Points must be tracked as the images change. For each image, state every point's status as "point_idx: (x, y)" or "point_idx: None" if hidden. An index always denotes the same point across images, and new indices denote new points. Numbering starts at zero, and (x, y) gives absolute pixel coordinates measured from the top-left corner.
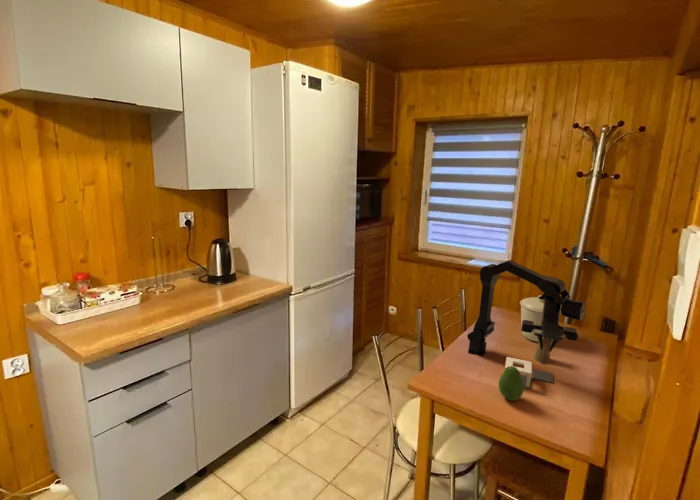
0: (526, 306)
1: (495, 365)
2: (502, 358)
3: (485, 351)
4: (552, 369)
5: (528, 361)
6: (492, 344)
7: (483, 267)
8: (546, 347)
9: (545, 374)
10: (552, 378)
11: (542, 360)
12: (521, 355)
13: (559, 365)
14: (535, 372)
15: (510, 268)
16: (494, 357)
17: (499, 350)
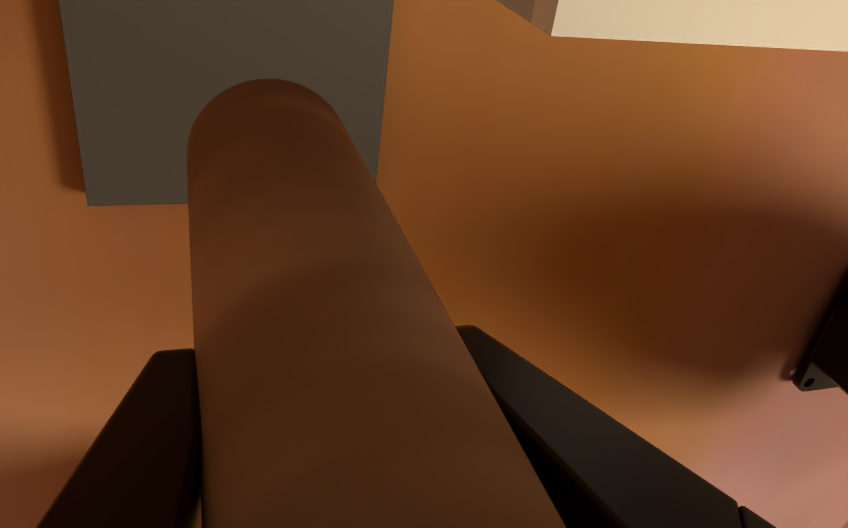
0: None
1: (800, 109)
2: (671, 304)
3: (830, 331)
4: (100, 335)
5: (613, 28)
6: None
7: None
8: (390, 367)
9: (193, 116)
10: (68, 20)
11: (334, 123)
12: None
13: (19, 469)
14: (344, 112)
15: None
16: (747, 285)
17: (655, 436)
